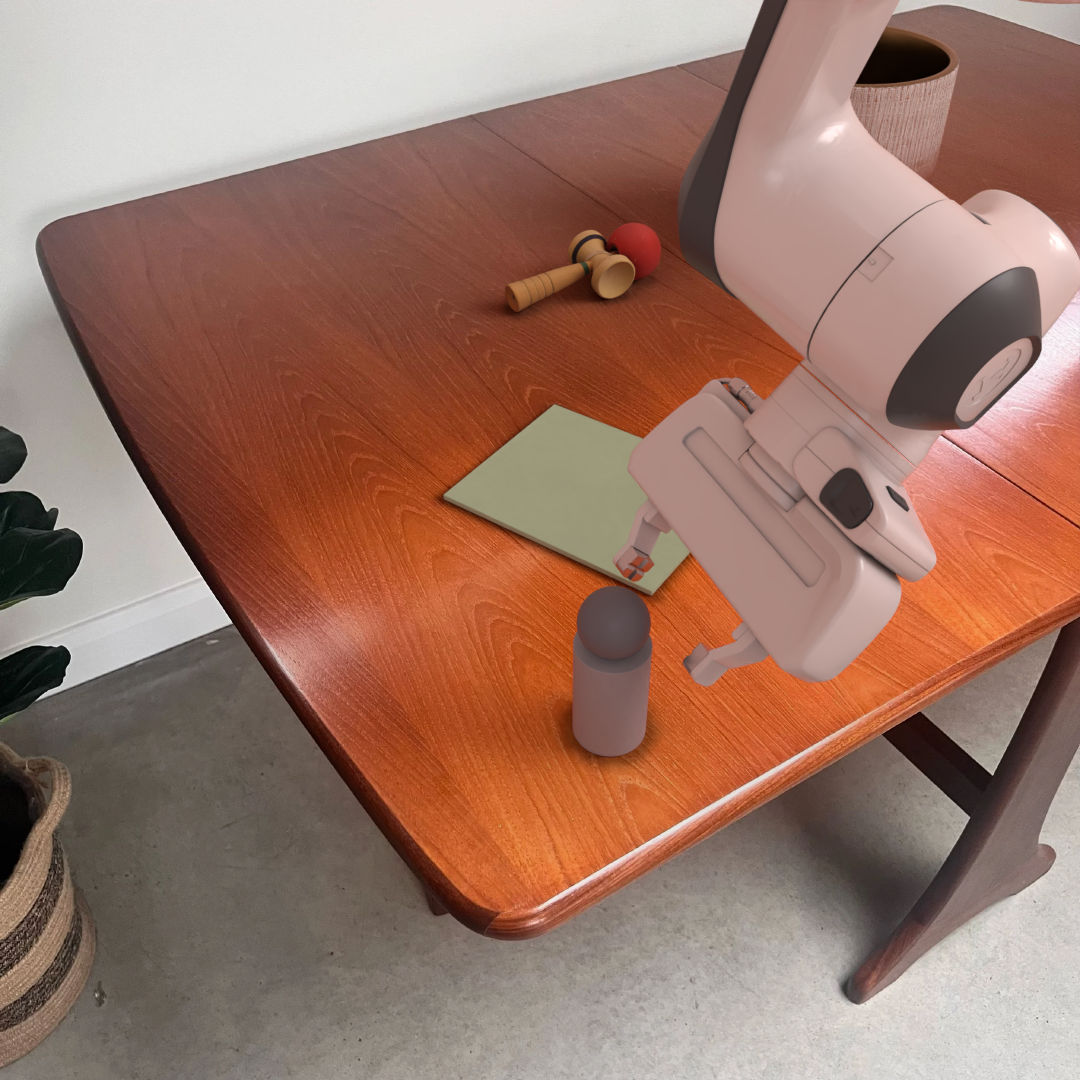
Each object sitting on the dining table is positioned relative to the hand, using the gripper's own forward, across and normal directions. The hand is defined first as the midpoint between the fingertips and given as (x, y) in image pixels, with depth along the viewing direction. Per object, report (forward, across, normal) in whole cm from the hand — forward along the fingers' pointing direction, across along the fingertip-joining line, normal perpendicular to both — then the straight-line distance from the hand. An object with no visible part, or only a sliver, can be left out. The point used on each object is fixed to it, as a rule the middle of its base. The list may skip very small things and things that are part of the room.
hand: (656, 621), depth 63 cm
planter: (-29, -56, +42) cm, 76 cm away
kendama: (-8, -54, +20) cm, 58 cm away
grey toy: (+8, 0, +4) cm, 9 cm away
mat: (+2, -22, +11) cm, 25 cm away
